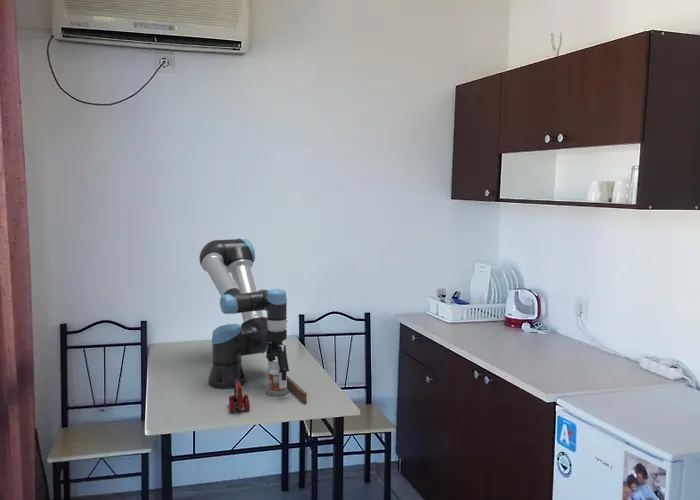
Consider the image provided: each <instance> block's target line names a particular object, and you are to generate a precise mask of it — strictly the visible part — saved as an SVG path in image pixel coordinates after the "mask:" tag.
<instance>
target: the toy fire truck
mask: <svg viewBox="0 0 700 500" xmlns="http://www.w3.org/2000/svg"><path fill="white" fill-rule="evenodd" d="M234 383H235V387H234V389H233V393H234V394H233V395H230V396H228V403H229V404H228V405H229V412H230V413H235V411H236V408H237V410H238V411H240V410H243V408H244V410H245V411H244V412H248V411H250V408H251V407H250V406H251V405H250V399H249V395H248V394H244V393H243V387H242V386H243V385H241V383H240V380H239V379H235V381H234Z"/></svg>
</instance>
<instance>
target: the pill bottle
mask: <svg viewBox="0 0 700 500" xmlns="http://www.w3.org/2000/svg"><path fill="white" fill-rule="evenodd" d="M279 370H280V368H279V364H278V361H275V362H272V363H271V369H270V370H269V378H268V388H269V391H270V392H272V393H281V392H283V391H284V390H285V388H281V389H280V388H279Z"/></svg>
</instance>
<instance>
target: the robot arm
mask: <svg viewBox="0 0 700 500" xmlns="http://www.w3.org/2000/svg"><path fill="white" fill-rule="evenodd" d="M198 260H199V264H200V266H201V268H202V270H203V271H205V272H206V273H207V274H208V275H209V277H210V279H211V281H212V282H213V284H214V286H215V288H216V290H217V292H218V293H219V295H220V298H219V306H220V311H221V312H222V314H225V315H228V314H229V315H234V314H240V313H241V317H242V323H241V324H239V323H227V324H223V325H220V326H218V327H215V329H213V331H212V334H211V335H212V336H211V344H212V345H211V347H212V349H211V350H212V366H211V368H210V373H209V375H208V385H209V386H210V387H212V388H216V389H233V388H234V389H235V383H234V381H235V379H239V380H240V383H241V386H243V385H244V384H246V383H247V375H246V372H245V368H244V367H243V362H242V361H243V360H242V359H243V357H242V356H244V357H245V356H250V355H251V356H252V355H258V354H264V353H266V355H265V358H266V359H267V364H268V365H267V366H268V367H267V371H268V372H267V373H268V374H267V375H268V377H267V378H268V379H269V370H270V369H271V363H272V362H276V360H277V362H278V364H279V368H280V370H279V388H280V389H281V388H287V376H288V374H287V373H288V372H289V371H290V368H289V361H288V357H287V355H288V354H287V346H286V345H284V344H283V341H286V340H287V336H288V335H287V334H288V332H287V328H288V327H287V325H288V320H287V319H288V318H287V311H288V309H287V306H288V305H287V304H288V302H287V301H288V298H287V291H286V290H285V289H280V288H273V289H272V288H271V289H269V290H268V289H263V288H262V289H258V290H257V286H256V284H255V279H254V276H253V273H252V267H253V266H254V263H255V260H256V251H255V248H254V245H253V243H252V242H251V241H250V240H249V239H247V238H236V239H235V238H234V239H233V238H232V239H214V240H211V241H209V242H207V243H206V244H205V245H204V246H203V248H201V250H200V253H199V259H198ZM263 311H266V316H264V313H263ZM276 358H277V359H276Z"/></svg>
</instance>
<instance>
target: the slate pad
mask: <svg viewBox="0 0 700 500" xmlns="http://www.w3.org/2000/svg"><path fill="white" fill-rule="evenodd" d="M289 393H290V391H289V389H287V388H285V390H284V391H283V392H281V393H272V392H270V391H269V387H268V388H267V389H266V390H265V394H266V395H268V396H271V397H283V396H286V395H288V394H289Z"/></svg>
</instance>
